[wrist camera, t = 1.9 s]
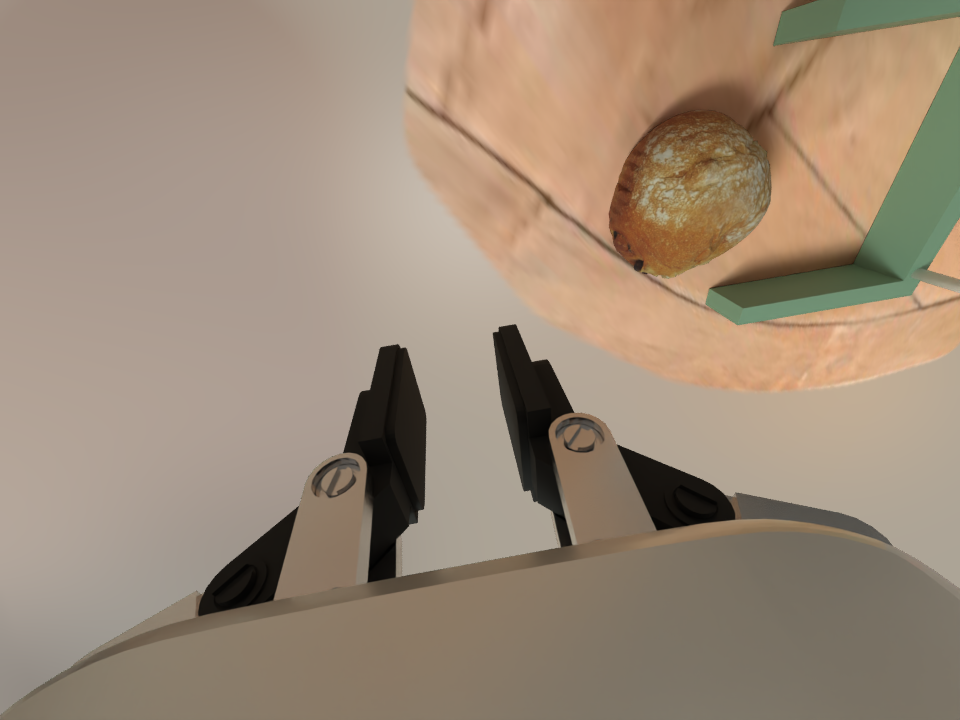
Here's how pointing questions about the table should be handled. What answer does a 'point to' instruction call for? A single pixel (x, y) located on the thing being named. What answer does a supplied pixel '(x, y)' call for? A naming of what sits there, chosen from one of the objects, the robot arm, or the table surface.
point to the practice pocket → (908, 205)
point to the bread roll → (689, 193)
